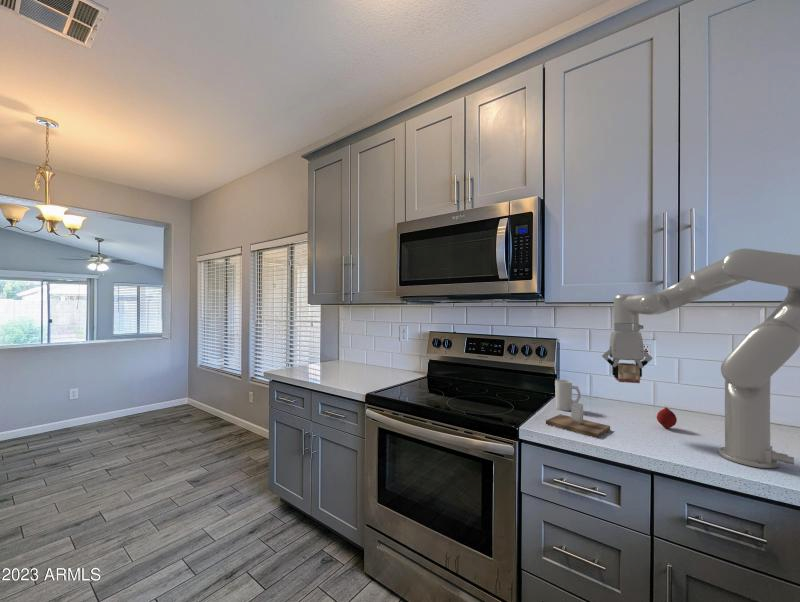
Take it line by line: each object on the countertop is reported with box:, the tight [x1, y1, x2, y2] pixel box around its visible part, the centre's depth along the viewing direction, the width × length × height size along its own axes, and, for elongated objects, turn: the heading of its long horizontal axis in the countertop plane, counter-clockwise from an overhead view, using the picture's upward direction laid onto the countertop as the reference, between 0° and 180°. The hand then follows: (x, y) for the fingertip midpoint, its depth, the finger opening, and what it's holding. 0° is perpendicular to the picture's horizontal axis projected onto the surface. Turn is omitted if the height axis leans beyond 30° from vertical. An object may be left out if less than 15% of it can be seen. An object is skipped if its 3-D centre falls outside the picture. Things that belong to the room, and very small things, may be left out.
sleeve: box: [614, 362, 641, 384], centre depth 127 cm, size 6×6×6 cm
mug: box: [554, 379, 581, 412], centre depth 152 cm, size 10×7×12 cm, turn 52°
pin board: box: [545, 413, 611, 439], centre depth 130 cm, size 18×12×2 cm, turn 41°
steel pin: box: [570, 402, 584, 425], centre depth 130 cm, size 3×3×7 cm
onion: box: [656, 406, 678, 430], centre depth 129 cm, size 6×6×8 cm
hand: (626, 377), depth 126 cm, fingers closed on sleeve, 6 cm apart
